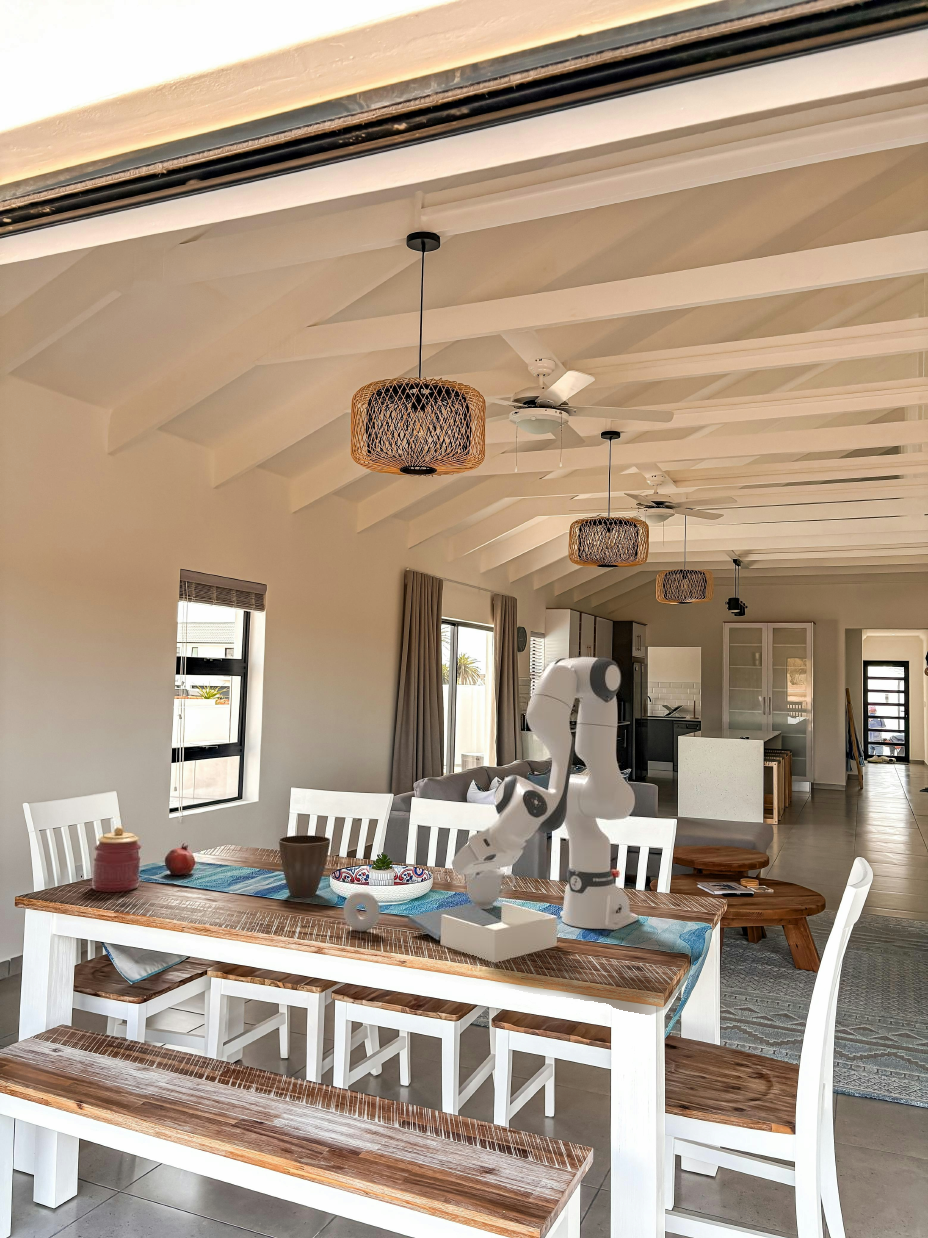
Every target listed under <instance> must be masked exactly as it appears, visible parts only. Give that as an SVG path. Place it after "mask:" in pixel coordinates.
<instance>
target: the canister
mask: <svg viewBox="0 0 928 1238" xmlns="http://www.w3.org/2000/svg"><path fill="white" fill-rule="evenodd" d="M139 839H140V838H139V837H138V836H136V835H135V833H131V832H125V830H124V828H123V827H122V826H117V827H116V828H115V829H114V831H113V832H109V833H105V834H103V835H102V836H101V837H99V838H97V841H98V842H99V843H98V844H97V845H96V846H94V850H95V857H94V858H93V875H92V880H91V882H92V883H91V886H92V889H93V890H94V891H96V892H103V893H119V892H127V891H132V890H135V889H137V888H138V887H139V884H140V866H141V865H140V864H141V863H140V862H141V856H140V849H142V845H141V844H140V843H138V841H139Z"/></svg>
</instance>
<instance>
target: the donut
mask: <svg viewBox="0 0 928 1238" xmlns="http://www.w3.org/2000/svg"><path fill="white" fill-rule="evenodd" d="M359 905H361V906H364V908H365V911H366V914H365V916H364V917H361V916H360V915H359V913H358V906H359ZM380 911H381V910H380V905H379V903H378V900H377V899H376V898H375V895H373V894H371V892H369V891H366V890H357V891H354V892H352V893H351V894H350V895H349V896H348V897H347V898H346V900H345V902H344V905H343V916H344V919H345V922H346V923H347V924H348V926H349V927H350V928H352V930H355V931H357V932H367V931H369V930H371V929H373V928H374V927H375V926H376V925H377V923H378V921H379V918H380V913H381V912H380Z"/></svg>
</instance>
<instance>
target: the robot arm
mask: <svg viewBox="0 0 928 1238" xmlns="http://www.w3.org/2000/svg"><path fill="white" fill-rule="evenodd" d="M621 684H622V673H621V669H620V667H619V666H618V664H617V662H616V661H615V660H613V659H610V658H606V657H599V658H598V657H591V656H579V657H572V658H571V657H570V658H563V657H562V658H559V659H555V660H553V661H552V662H550V663H549V664H548V666H547V667H546V668H545V669H544V670H543V672H542V674H541V675H540V677H539V679H538V681H537V683H536V684H535V687H534V689H533V692H532V694H531V697H530V698H529V699H530V700H529V702H528V706H527V709H526V712H525V713H526V715H525V717H526V722H527V724H528V728H529V729H530V731H531V732H532V733H533V734H534V736H535V737H536V738H537V739H538V740H539V741H540V742H541V743H542V744H543V746H545V749H547V751H548V752H549V754H550V758H551V761H552V762H551V769H550V770H551V771H550V776H549V783H548V789H546V788H543V787H541V786H539V785H538V784H535V783H533V782H532V781H530V780H528V779H526V778H524V777H521V776H520V775H516V774H511V775H509V776H507V777H505V778H504V779H502V780H501V782H500V783H498V786H497V787H496V789H495V790H494V792H493V803H494V807H495V811H496V814H497V815H498V819H497V820H496V821H494V822H493V824H492V825H491V826H489V827H487V828H485V829H484V830H482V831H479V832H477V833H475V834H472V835H470V836H469V838H468V839H467V842H468V843H467V844H465V845H464V846H462V848H460V850H459V851H458V852H457V853H456V855H455V856H454V858H453V859H452V860H451V866H452V868H453V870H454V872H455V874H456V875H457V876H464V875H465V874H467V876H468V878H469V879H474V878H479V877H480V876H481V874H483V873H485V872H486V871H488V870H491V869H496V868H498V869H501V868H506V867H510V866H513V865H514V864H516V862H517V861H518V859H519V858H520V857H521V855H522V854H523V853H524V847H525V846H526V845H527V840H528V839H530V838H531V837H532V836H533V835H534V833H535V832H536V831H538V832H540V833H542V834H548V833H551V832H555V831H556V830H558V829H560V828H561V827H562V826H563V824H564V826H565V829H566V832H567V837H568V847H569V848H568V849H569V851H568V853H569V855H568V856H569V857H568V858H569V859H568V864H569V865H568V867H567V871H566V881H567V882H568V883H567V884H566V886H565V889H564V890H565V891H564V897H563V907H562V910H561V911H560V914H559V916H560V917H561V921H562V923H564V924H566V925H569V926H573V927H578V928H582V929H601V930H603V929H605V930H618V929H621V928H623V927H625V926H627V925H630V924H631V923H634V922H635V921H638V920H639V916H638V915H637V914H636V913H634V912H630V900H629V897H628V896H627V894H626V893H625V892H623V890H622V889H620V888H619V887H618V885H616V883H615V880H614V878H616V879H617V878H619V877H620V875H621V873H620V870H619V869H611V846H612V845H611V841H610V838H609V836H607V835H606V834H605V833H604V832H603V831H602V830H601V828H600V826H599V824H598V821H597V819H601V820H607V821H613V820H615V821H616V820H623V819H626V818H628V817H629V816H630V815H631V813H632V812H633V810H634V807H635V804H636V801H635V800H636V799H635V798H636V797H635V793H634V791H633V788H632V786H631V785H630V784H629V783H628V782H627V781H626V780H625V778H624V777H623V775H622V773H621V770H620V768H619V764H618V761H617V734H618V732H617V731H618V702H617V701H618V700H617V696H616V695H617V693H618V691H619V690H620V687H621ZM576 698H577V699H579V702H580V703H579V706H578V712H577V713H578V714H577V718H576V719H577V720H576V728H575V729H576V731H575V738H574V736H573V734H572V733H571V725H570V718H571V714H572V711H573V710H572V709H573V708H574V707H573V706H574V704H575V700H576ZM574 751H575V754H576V756H577V757H578V758H579V759H581V760H582V762H584V764H585V767H586V770H587V775H584V774H583V775H582V774H575V773H574V774H573V773H571V771H572V766H573V762H574V761H573V759H574Z"/></svg>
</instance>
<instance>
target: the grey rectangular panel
mask: <svg viewBox="0 0 928 1238" xmlns="http://www.w3.org/2000/svg"><path fill="white" fill-rule="evenodd" d="M441 915H447V916H450V917H454V918H457V919H460V920H464V921H467V922H470V923H473V924H477V925H480V926H487V925H492V924H496V923H500V922H501V919H499V918H497V917H495V916H493V915H492V914H490V913H488V912H487V911H484V909H480V908H478V907H476V906H474V903H473V904H472V903H467V904H462V905H459V906H458V905H457V906H453V907H448V908H444V909H439V910H434V911H428V912H423V913H418V914H414V915H409V916H408V920H407V921H408V922H409V923H410V924H412V925H413V926H415V927H417V928H419V929H420V930H422V931H423V932H424V933H426V934H428V935H430V936H431V937H433V938H434V939H436V940H437V941H441Z"/></svg>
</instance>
